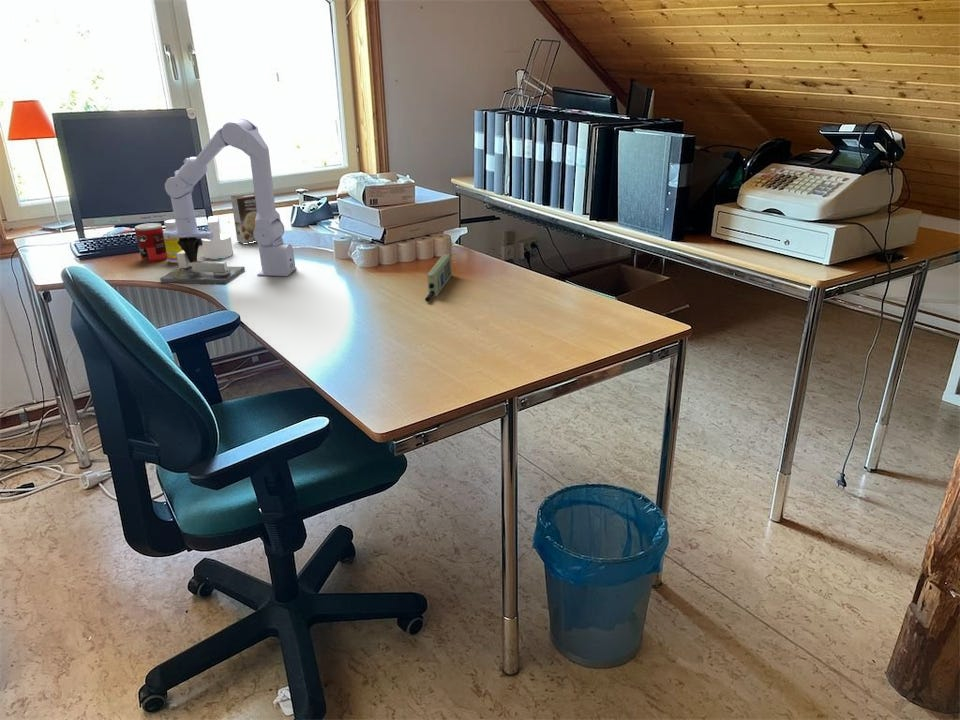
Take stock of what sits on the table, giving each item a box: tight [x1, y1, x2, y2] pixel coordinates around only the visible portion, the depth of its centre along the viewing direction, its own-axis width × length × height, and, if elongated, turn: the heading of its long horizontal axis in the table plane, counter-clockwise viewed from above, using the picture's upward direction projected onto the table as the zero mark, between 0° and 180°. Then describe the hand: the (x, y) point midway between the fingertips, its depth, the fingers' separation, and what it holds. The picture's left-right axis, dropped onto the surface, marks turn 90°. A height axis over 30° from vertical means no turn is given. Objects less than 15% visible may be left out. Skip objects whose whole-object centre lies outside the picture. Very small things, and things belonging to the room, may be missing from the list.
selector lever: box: [191, 260, 231, 276], centre depth 204 cm, size 11×5×4 cm, turn 83°
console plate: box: [159, 265, 246, 285], centre depth 208 cm, size 20×13×1 cm, turn 83°
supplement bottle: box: [163, 218, 184, 264], centre depth 221 cm, size 7×7×13 cm
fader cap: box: [177, 251, 192, 268], centre depth 211 cm, size 2×4×4 cm, turn 173°
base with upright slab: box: [201, 215, 234, 260], centre depth 226 cm, size 9×9×12 cm
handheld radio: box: [424, 253, 453, 303], centre depth 194 cm, size 7×3×25 cm
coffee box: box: [230, 192, 257, 244], centre depth 241 cm, size 9×6×16 cm
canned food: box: [134, 222, 168, 263], centre depth 223 cm, size 8×8×11 cm
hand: (193, 261), depth 211 cm, fingers closed
